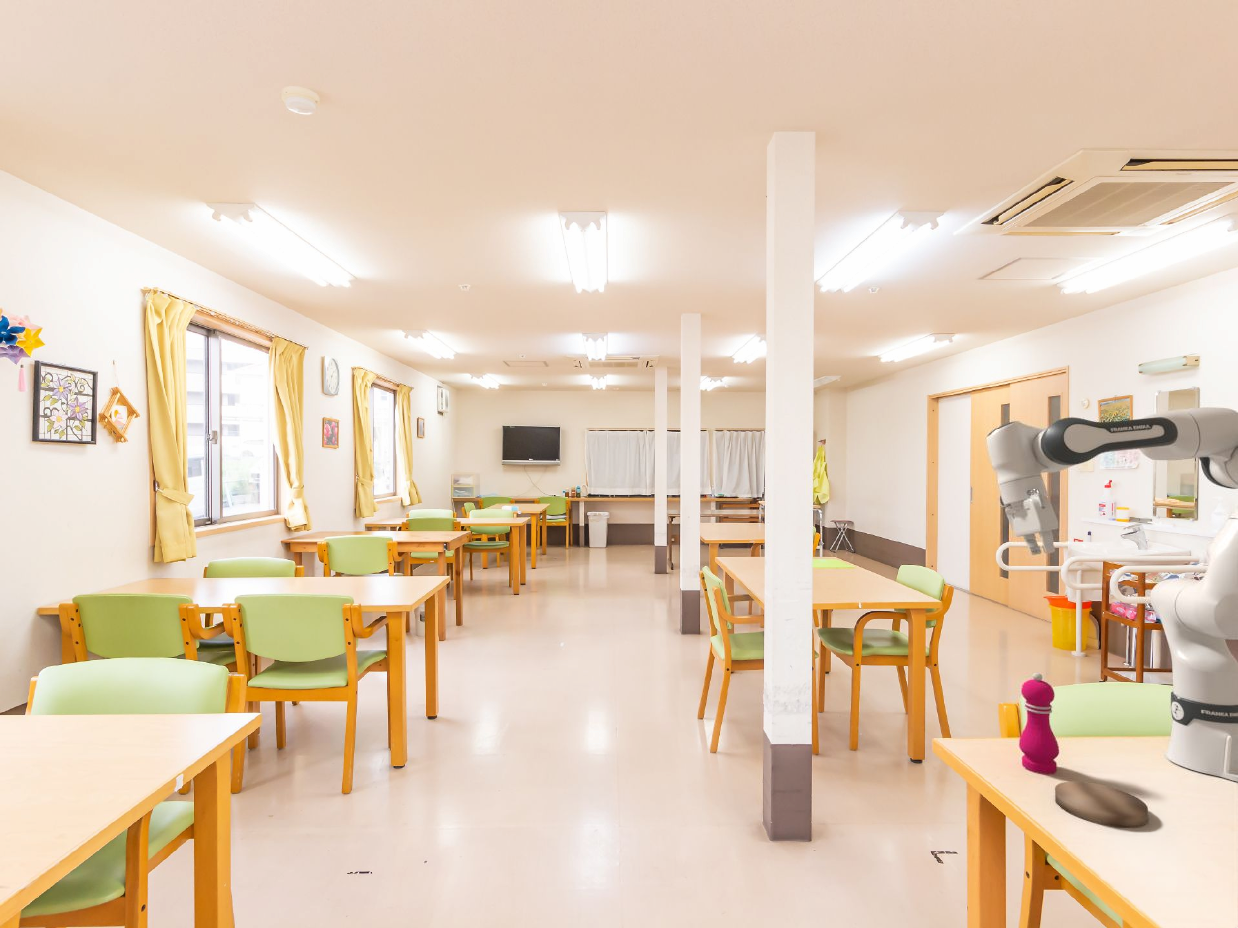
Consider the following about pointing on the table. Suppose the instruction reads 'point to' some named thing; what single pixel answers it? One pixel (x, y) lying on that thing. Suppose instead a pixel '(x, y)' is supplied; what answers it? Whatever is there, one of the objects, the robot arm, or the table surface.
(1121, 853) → the table surface
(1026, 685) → the pepper mill
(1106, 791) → the walnut board
